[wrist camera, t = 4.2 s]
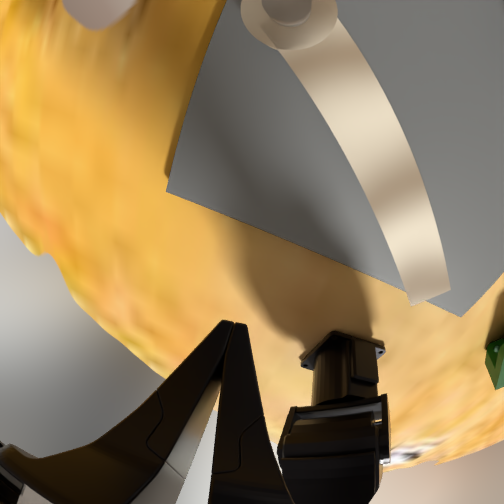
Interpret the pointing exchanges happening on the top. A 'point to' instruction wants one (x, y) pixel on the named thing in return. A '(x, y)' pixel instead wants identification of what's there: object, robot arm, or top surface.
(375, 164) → the link
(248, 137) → the board
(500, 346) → the clamp
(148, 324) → the top surface
